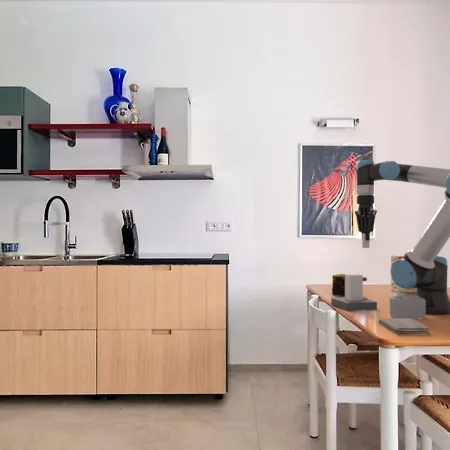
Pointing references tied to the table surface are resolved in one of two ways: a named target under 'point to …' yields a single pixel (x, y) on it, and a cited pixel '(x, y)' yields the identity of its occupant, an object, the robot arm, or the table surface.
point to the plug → (354, 287)
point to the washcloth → (404, 326)
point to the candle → (338, 284)
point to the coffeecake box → (393, 285)
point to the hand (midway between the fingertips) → (365, 247)
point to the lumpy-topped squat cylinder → (407, 306)
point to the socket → (353, 304)
